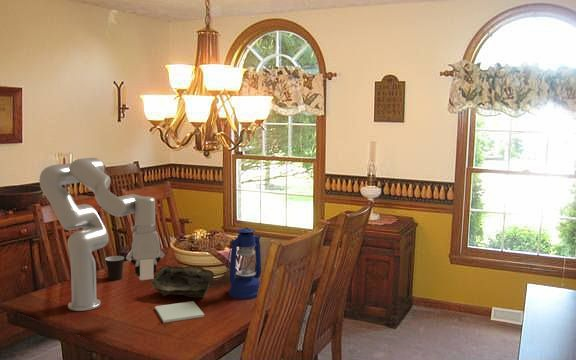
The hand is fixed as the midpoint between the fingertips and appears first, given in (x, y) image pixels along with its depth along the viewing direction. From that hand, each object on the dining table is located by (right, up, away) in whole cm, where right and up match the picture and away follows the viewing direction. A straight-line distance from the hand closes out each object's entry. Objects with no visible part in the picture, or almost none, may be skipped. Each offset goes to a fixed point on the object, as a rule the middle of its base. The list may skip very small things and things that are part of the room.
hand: (145, 274), depth 205 cm
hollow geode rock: (+10, -15, +26) cm, 32 cm away
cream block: (0, -1, 0) cm, 1 cm away
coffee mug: (-28, -11, +51) cm, 59 cm away
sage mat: (+11, -17, +8) cm, 22 cm away
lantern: (+36, -15, +33) cm, 51 cm away
